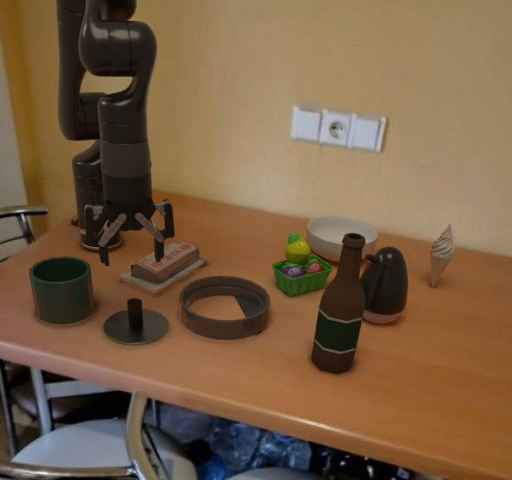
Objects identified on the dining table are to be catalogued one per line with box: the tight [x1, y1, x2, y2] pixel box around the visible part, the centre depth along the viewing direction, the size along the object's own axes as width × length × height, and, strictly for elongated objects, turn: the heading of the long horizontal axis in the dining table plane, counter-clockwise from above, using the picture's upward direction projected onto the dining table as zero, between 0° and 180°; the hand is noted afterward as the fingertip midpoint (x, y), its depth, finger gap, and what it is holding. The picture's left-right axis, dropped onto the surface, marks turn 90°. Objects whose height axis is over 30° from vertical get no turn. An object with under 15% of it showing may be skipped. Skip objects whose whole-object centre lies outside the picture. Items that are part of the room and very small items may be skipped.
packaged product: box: [119, 238, 208, 295], centre depth 121 cm, size 18×5×10 cm
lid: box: [102, 297, 169, 346], centre depth 102 cm, size 12×12×6 cm
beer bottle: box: [311, 233, 366, 375], centre depth 93 cm, size 8×8×24 cm
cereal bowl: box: [305, 215, 379, 264], centre depth 133 cm, size 17×17×7 cm
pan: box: [178, 275, 271, 341], centre depth 108 cm, size 17×17×4 cm
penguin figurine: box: [360, 245, 409, 325], centre depth 109 cm, size 10×10×15 cm
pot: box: [28, 255, 96, 326], centre depth 105 cm, size 11×11×9 cm
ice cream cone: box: [429, 223, 456, 288], centre depth 121 cm, size 5×5×15 cm
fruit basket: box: [271, 231, 334, 297], centre depth 118 cm, size 11×9×11 cm
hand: (132, 262), depth 96 cm, fingers open, 8 cm apart
